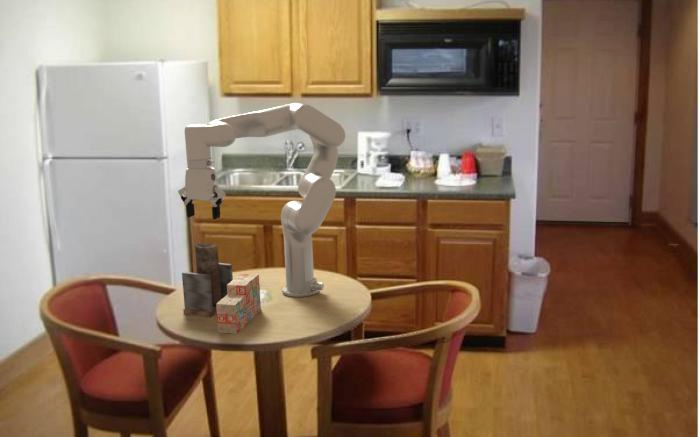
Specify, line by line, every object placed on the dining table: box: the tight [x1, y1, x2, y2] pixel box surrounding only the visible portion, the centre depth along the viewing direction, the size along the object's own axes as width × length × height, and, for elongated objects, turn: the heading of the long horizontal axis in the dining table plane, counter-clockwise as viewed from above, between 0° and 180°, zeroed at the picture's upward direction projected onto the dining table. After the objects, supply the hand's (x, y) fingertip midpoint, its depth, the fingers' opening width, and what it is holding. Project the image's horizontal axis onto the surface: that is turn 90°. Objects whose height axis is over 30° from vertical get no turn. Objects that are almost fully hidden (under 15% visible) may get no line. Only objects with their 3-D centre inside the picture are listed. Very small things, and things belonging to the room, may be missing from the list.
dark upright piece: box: [194, 242, 221, 305], centre depth 248 cm, size 8×7×20 cm
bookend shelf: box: [181, 262, 234, 318], centre depth 249 cm, size 10×15×14 cm, turn 155°
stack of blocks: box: [216, 273, 262, 335], centre depth 237 cm, size 21×6×12 cm, turn 167°
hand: (203, 217), depth 244 cm, fingers open, 9 cm apart
